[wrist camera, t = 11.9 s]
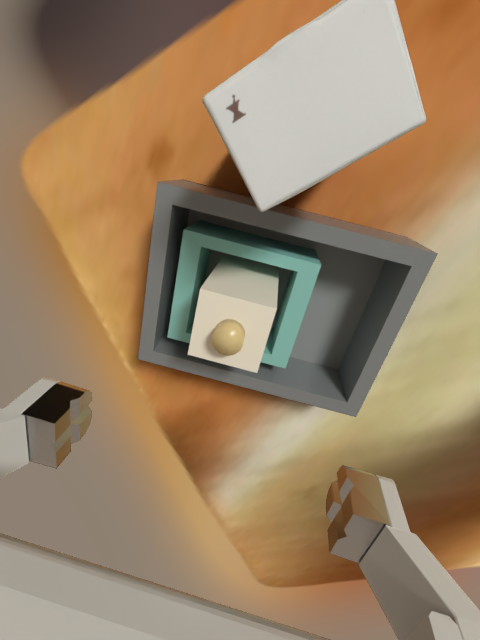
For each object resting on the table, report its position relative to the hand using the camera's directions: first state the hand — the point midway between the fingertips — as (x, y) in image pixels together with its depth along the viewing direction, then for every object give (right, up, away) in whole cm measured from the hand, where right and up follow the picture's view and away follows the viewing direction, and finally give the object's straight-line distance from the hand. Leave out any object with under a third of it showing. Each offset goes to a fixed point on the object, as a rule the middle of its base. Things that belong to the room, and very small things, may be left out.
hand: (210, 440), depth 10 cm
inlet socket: (+1, +7, +15) cm, 16 cm away
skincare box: (+5, +15, +11) cm, 19 cm away
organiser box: (+3, +6, +15) cm, 17 cm away
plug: (+1, +6, +14) cm, 16 cm away
